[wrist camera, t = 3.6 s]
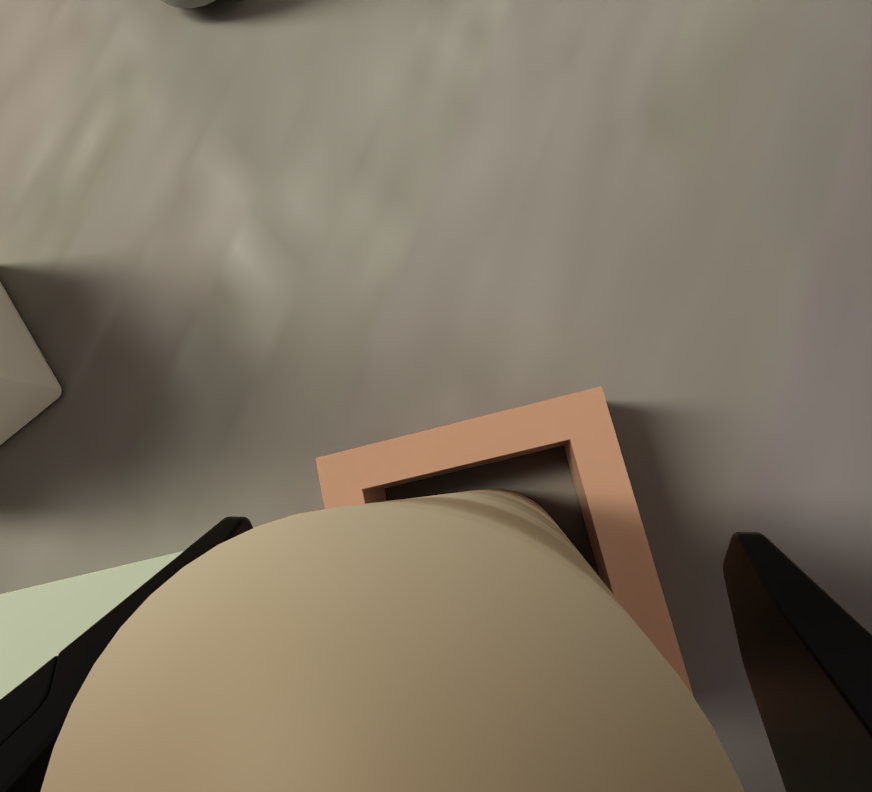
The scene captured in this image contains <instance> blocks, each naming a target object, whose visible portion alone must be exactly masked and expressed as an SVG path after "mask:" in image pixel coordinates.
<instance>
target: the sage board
mask: <svg viewBox="0 0 872 792" xmlns="http://www.w3.org/2000/svg"><path fill="white" fill-rule="evenodd" d="M182 552H184V551H182ZM182 552H177V553H173V554H169V555H165V556H160V557H156V558H152V559H148V560H143V561H139V562H135V563H131V564H127V565H122V566H118V567H114V568H110V569H105V570H101V571H97V572H93V573H88V574H84V575H80V576H76V577H71V578H67V579H63V580H59V581H54V582H50V583H46V584H42V585H38V586H33V587H29V588H25V589H21V590H16V591H12V592H8V593H4V594H0V699H1V698H3V697H4V696H5V695H7V694H8V693H9V692H10V691H12V690H13V689H14V688H15V687H17V686H18V685H19V684H21V683H22V682H23V681H24V680H26V679H27V678H28V677H29V676H31V675H32V674H33V673H34V672H36V671H37V670H38V669H39V668H41V667H42V666H43V665H44V664H46V663H47V662H48V661H49V660H50V659H52V658H53V657H54V656H58V654H59V653H60V652H61V651H62V650H63V649H64V648H65V647H67V646H68V645H69V644H70V643H72V642H73V641H74V640H75V639H77V638H78V637H79V636H80V635H81V634H83V633H84V632H85V631H86V630H88V629H89V628H90V627H91V626H92V625H94V624H95V623H96V622H97V621H99V620H100V619H101V618H102V617H104V616H105V615H106V614H107V613H108V612H110V611H111V610H112V609H113V608H115V607H116V606H117V605H118V604H120V603H121V602H122V601H123V600H124V599H126V598H127V597H128V596H129V595H131V594H132V593H133V592H134V591H136V590H137V589H138V588H139V587H140V586H142V585H143V584H144V583H145V582H147V581H148V580H149V579H150V578H152V577H153V576H154V575H155V574H156V573H158V572H159V571H160V570H161V569H163V568H164V567H165V566H166V565H168V564H169V563H170V562H171V561H172V560H174V559H175V558H176V557H177V556H179V555H180V554H181V553H182Z"/></svg>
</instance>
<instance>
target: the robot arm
mask: <svg viewBox="0 0 872 792" xmlns="http://www.w3.org/2000/svg"><path fill="white" fill-rule="evenodd" d="M250 529H253V527H252V524H251V522H250V520H249V519H248V518H246V517H232V516H231V517H226V518H225V519H223V520H222V521H220V522H219V523H218V524H217V525H216V526H214V527H213V528H212V529H211V530H209V531H208V532H207V533H206V534H204V535H203V536H202V537H201V538H200V539H198V540H197V541H196V542H195V543H193V544H192V545H191V546H190V547H188V548H187V549H186V550H185V551H184V552H182V553H181V554H180V555H179V556H177V557H176V558H175V559H174V560H172V561H171V562H170V563H169V564H168V565H166V566H165V567H164V568H163V569H161V570H160V571H159V572H158V573H156V574H155V575H154V576H153V577H152V578H150V579H149V580H148V581H147V582H145V583H144V584H143V585H142V586H140V587H139V588H138V589H137V590H136V591H134V592H133V593H132V594H131V595H129V596H128V597H127V598H126V599H124V600H123V601H122V602H121V603H120V604H118V605H117V606H116V607H115V608H113V609H112V610H111V611H110V612H108V613H107V614H106V615H105V616H104V617H102V618H101V619H100V620H99V621H97V622H96V623H95V624H94V625H92V626H91V627H90V628H89V629H88V630H86V631H85V632H84V633H83V634H81V635H80V636H79V637H78V638H77V639H75V640H74V641H73V642H72V643H70V644H69V645H68V646H67V647H65V648H64V649H63V650H62V651H61V652H60V653H59V654H58V656H54V657H53V658H52V659H50V660H49V661H48V662H47V663H46V664H44V665H43V666H42V667H41V668H39V669H38V670H37V671H36V672H34V673H33V674H32V675H31V676H29V677H28V678H27V679H26V680H24V681H23V682H22V683H21V684H19V685H18V686H17V687H15V688H14V689H13V690H12V691H10V692H9V693H8V694H7V695H5V696H4V697H3V698H1V699H0V792H40V791H41V788H42V785H43V781H44V778H45V775H46V771H47V768H48V765H49V761H50V758H51V755H52V751H53V748H54V745H55V743H56V741H57V738H58V736H59V734H60V731H61V729H62V726H63V724H64V722H65V719H66V717H67V714H68V712H69V710H70V707H71V705H72V703H73V701H74V699H75V698H76V696H77V694H78V692H79V690H80V689H81V687H82V685H83V683H84V681H85V680H86V678H87V676H88V674H89V672H90V671H91V669H92V667H93V665H94V664H95V662H96V661H97V659H98V658H99V657H100V655H101V654H102V652H103V651H104V650H105V648H106V647H107V645H108V644H109V643H110V641H111V640H112V638H113V637H114V636H115V634H116V633H117V632H118V630H119V629H120V627H121V626H122V625H123V624H124V623H125V622H126V621H127V620H128V619H129V618H130V617H131V615H132V614H133V613H134V612H135V611H136V610H137V609H138V608H139V607H140V606H141V605H142V603H143V602H144V601H145V600H146V599H147V598H148V597H149V596H150V595H151V594H152V593H153V592H154V591H156V590H157V589H158V588H159V587H160V586H162V585H163V584H164V583H165V582H166V581H167V580H169V579H170V578H171V577H172V576H173V575H175V574H176V573H177V572H178V571H179V570H180V569H182V568H183V567H184V566H186V565H187V564H189V563H191V562H192V561H194V560H195V559H197V558H198V557H200V556H201V555H203V554H205V553H206V552H208V551H209V550H211V549H212V548H214V547H215V546H217V545H218V544H221V543H223V542H225V541H227V540H229V539H231V538H233V537H236V536H238V535H240V534H242V533H244V532H246V531H248V530H250ZM723 572H724V578H725V583H726V587H727V592H728V597H729V601H730V606H731V610H732V615H733V620H734V624H735V629H736V634H737V638H738V643H739V648H740V652H741V656H742V660H743V664H744V667H745V670H746V673H747V677H748V680H749V683H750V685H751V688H752V691H753V694H754V697H755V700H756V703H757V706H758V709H759V712H760V715H761V718H762V721H763V724H764V727H765V730H766V733H767V736H768V739H769V742H770V745H771V748H772V751H773V754H774V757H775V760H776V763H777V766H778V769H779V771H780V774H781V777H782V780H783V783H784V786H785V789H786V792H872V635H871V634H870V633H869V632H868V631H867V630H866V629H865V628H863V627H862V626H861V625H860V624H859V623H858V622H857V621H856V620H855V619H854V618H853V617H852V616H850V615H849V614H848V613H847V612H846V611H845V610H844V609H843V608H842V607H841V606H840V605H839V604H838V603H836V602H835V601H834V600H833V599H832V598H831V597H830V596H829V595H828V594H827V593H826V592H825V591H824V590H822V589H821V588H820V587H819V586H818V585H817V584H816V583H815V582H814V581H813V580H812V579H811V578H809V577H808V576H807V575H806V574H805V573H804V572H803V571H802V570H801V569H800V568H799V567H798V566H797V565H795V564H794V563H793V562H792V561H791V560H790V559H789V558H788V557H787V556H786V555H785V554H784V553H783V552H781V551H780V550H779V549H778V548H777V547H776V546H775V545H774V544H773V543H772V542H771V541H770V540H769V539H767V538H766V537H765V536H764V535H762V534H760V533H756V532H736V533H734V534H733V536H732V538H731V541H730V544H729V547H728V550H727V553H726V556H725V559H724V563H723Z"/></svg>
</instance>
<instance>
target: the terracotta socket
mask: <svg viewBox="0 0 872 792" xmlns="http://www.w3.org/2000/svg"><path fill="white" fill-rule="evenodd" d="M560 446H564V449H565V453H566V456H567V460H568V464H569V467H570V471H571V474H572V478H573V482H574V485H575V489H576V492H577V496H578V500H579V503H580V507H581V511H582V514H583V518H584V521H585V525H586V529H587V532H588V536H589V539H590V543H591V547H592V550H593V554H594V558H595V561H596V565H597V568H598V572H599V576H600V578H601V580H602V581H603V582H604V583H605V585H606V586H607V587H608V588H609V590H610V591H611V592H612V593H613V595H614V596H615V597H616V598H617V600H618V601H619V602H620V603H621V605H622V606H623V607H624V608H625V610H626V611H627V612H628V613H629V614H630V616H631V617H632V618H633V619H634V621H635V622H636V623H637V624H638V626H639V627H640V628H641V629H642V631H643V632H644V633H645V634H646V636H647V637H648V638H649V639H650V641H651V642H652V643H653V644H654V645H655V647H656V648H657V649H658V650H659V652H660V653H661V654H662V655H663V657H664V658H665V659H666V660H667V662H668V663H669V664H670V665H671V667H672V668H673V669H674V670H675V672H676V673H677V674H678V675H679V677H680V678H681V679H682V681H683V682H684V684H685V685H686V687H687V688H688V690H689V691H690V693H691V694H692V696H693V698H694V695H693V692H692V689H691V685H690V682H689V678H688V675H687V672H686V668H685V665H684V662H683V658H682V655H681V652H680V648H679V645H678V641H677V638H676V635H675V631H674V628H673V625H672V621H671V618H670V615H669V611H668V608H667V605H666V601H665V598H664V594H663V591H662V588H661V584H660V581H659V578H658V574H657V571H656V568H655V564H654V561H653V557H652V554H651V551H650V547H649V544H648V541H647V537H646V534H645V531H644V527H643V524H642V521H641V517H640V514H639V510H638V507H637V504H636V500H635V497H634V494H633V490H632V487H631V484H630V480H629V477H628V473H627V470H626V467H625V463H624V460H623V457H622V453H621V450H620V447H619V443H618V440H617V437H616V433H615V430H614V426H613V423H612V420H611V416H610V413H609V410H608V406H607V403H606V400H605V396H604V393H603V389H602V386H601V387H597V388H593V389H589V390H585V391H581V392H577V393H573V394H569V395H565V396H561V397H557V398H553V399H549V400H545V401H541V402H537V403H533V404H529V405H525V406H521V407H517V408H513V409H509V410H505V411H501V412H497V413H493V414H489V415H485V416H481V417H477V418H473V419H469V420H465V421H461V422H457V423H453V424H449V425H445V426H441V427H437V428H433V429H429V430H425V431H421V432H417V433H413V434H409V435H405V436H401V437H397V438H393V439H389V440H385V441H381V442H377V443H373V444H369V445H365V446H361V447H357V448H353V449H349V450H345V451H341V452H337V453H333V454H329V455H325V456H321V457H317V458H315V459H316V464H317V470H318V475H319V481H320V486H321V492H322V497H323V502H324V508H325V509H330V508H336V507H343V506H351V505H360V504H368V503H376V502H384V501H387V498H386V493H385V488H389V487H393V486H397V485H401V484H405V483H410V482H414V481H418V480H422V479H426V478H431V477H435V476H439V475H443V474H447V473H451V472H456V471H460V470H464V469H468V468H472V467H476V466H481V465H485V464H489V463H493V462H497V461H502V460H506V459H510V458H514V457H518V456H522V455H527V454H531V453H535V452H539V451H543V450H547V449H552V448H556V447H560Z"/></svg>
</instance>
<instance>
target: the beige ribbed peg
mask: <svg viewBox="0 0 872 792" xmlns="http://www.w3.org/2000/svg"><path fill="white" fill-rule="evenodd" d="M40 792H745V791H744V789H743V786H742V783H741V781H740V779H739V777H738V775H737V773H736V771H735V769H734V767H733V765H732V763H731V761H730V759H729V758H728V756H727V754H726V752H725V750H724V748H723V746H722V744H721V742H720V740H719V738H718V736H717V734H716V732H715V730H714V728H713V726H712V725H711V723H710V722H709V720H708V719H707V717H706V716H705V714H704V713H703V711H702V710H701V708H700V707H699V705H698V704H697V702H696V701H695V699H694V698H693V696H692V694H691V693H690V691H689V690H688V688H687V687H686V685H685V684H684V682H683V681H682V679H681V678H680V677H679V675H678V674H677V673H676V672H675V670H674V669H673V668H672V667H671V665H670V664H669V663H668V662H667V660H666V659H665V658H664V657H663V655H662V654H661V653H660V652H659V650H658V649H657V648H656V647H655V645H654V644H653V643H652V642H651V641H650V639H649V638H648V637H647V636H646V634H645V633H644V632H643V631H642V629H641V628H640V627H639V626H638V624H637V623H636V622H635V621H634V619H633V618H632V617H631V616H630V614H629V613H628V612H627V611H626V610H625V608H624V607H623V606H622V605H621V603H620V602H619V601H618V600H617V598H616V597H615V596H614V595H613V593H612V592H611V591H610V590H609V588H608V587H607V586H606V585H605V583H604V582H603V581H602V580H601V578H600V577H599V576H598V575H597V574H596V572H595V571H594V570H593V569H592V567H591V566H590V565H589V564H588V562H587V561H586V560H585V559H584V557H583V556H582V555H581V554H580V552H579V551H578V550H577V549H576V547H575V546H574V545H573V544H572V542H571V541H570V540H569V539H568V538H567V536H566V535H565V534H564V533H563V531H562V530H561V529H560V528H559V526H558V525H557V524H556V523H555V521H554V520H553V519H552V518H551V517H550V515H549V514H548V513H547V512H546V511H545V510H544V509H543V508H542V507H541V506H540V505H538V504H537V503H536V502H534V501H533V500H531V499H529V498H528V497H526V496H524V495H522V494H519V493H516V492H513V491H509V490H505V489H482V490H474V491H465V492H457V493H449V494H441V495H433V496H425V497H417V498H408V499H400V500H392V501H384V502H376V503H368V504H360V505H351V506H343V507H336V508H330V509H324V510H318V511H312V512H306V513H300V514H295V515H292V516H289V517H286V518H283V519H279V520H276V521H273V522H270V523H267V524H263V525H260V526H257V527H255V528H253V529H250V530H248V531H246V532H244V533H242V534H240V535H238V536H236V537H233V538H231V539H229V540H227V541H225V542H223V543H221V544H218V545H217V546H215V547H214V548H212V549H211V550H209V551H208V552H206V553H205V554H203V555H201V556H200V557H198V558H197V559H195V560H194V561H192V562H191V563H189V564H187V565H186V566H184V567H183V568H182V569H180V570H179V571H178V572H177V573H176V574H175V575H173V576H172V577H171V578H170V579H169V580H167V581H166V582H165V583H164V584H163V585H162V586H160V587H159V588H158V589H157V590H156V591H154V592H153V593H152V594H151V595H150V596H149V597H148V598H147V599H146V600H145V601H144V602H143V603H142V605H141V606H140V607H139V608H138V609H137V610H136V611H135V612H134V613H133V614H132V615H131V617H130V618H129V619H128V620H127V621H126V622H125V623H124V624H123V625H122V626H121V627H120V629H119V630H118V632H117V633H116V634H115V636H114V637H113V638H112V640H111V641H110V643H109V644H108V645H107V647H106V648H105V650H104V651H103V652H102V654H101V655H100V657H99V658H98V659H97V661H96V662H95V664H94V665H93V667H92V669H91V671H90V672H89V674H88V676H87V678H86V680H85V681H84V683H83V685H82V687H81V689H80V690H79V692H78V694H77V696H76V698H75V699H74V701H73V703H72V705H71V707H70V710H69V712H68V714H67V717H66V719H65V722H64V724H63V726H62V729H61V731H60V734H59V736H58V738H57V741H56V743H55V745H54V748H53V751H52V755H51V758H50V761H49V765H48V768H47V771H46V775H45V778H44V781H43V785H42V788H41V791H40Z"/></svg>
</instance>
